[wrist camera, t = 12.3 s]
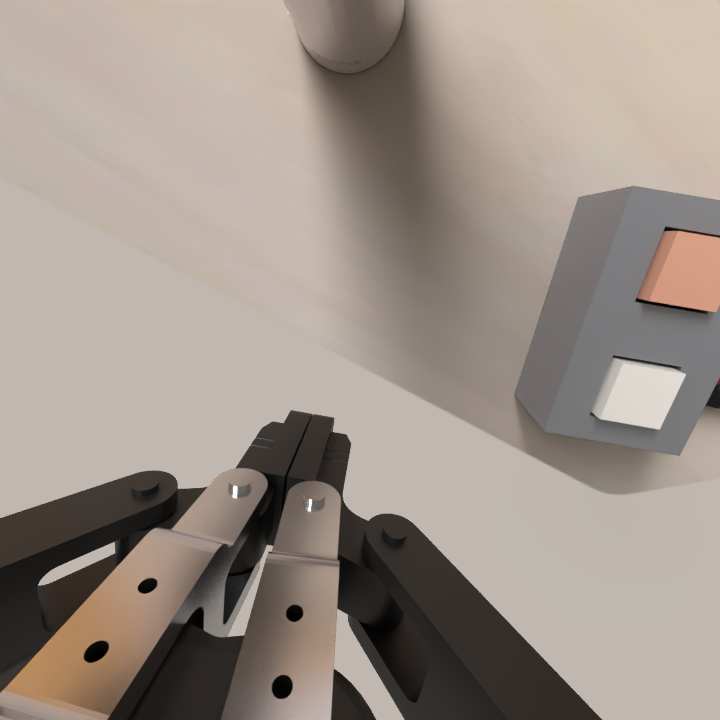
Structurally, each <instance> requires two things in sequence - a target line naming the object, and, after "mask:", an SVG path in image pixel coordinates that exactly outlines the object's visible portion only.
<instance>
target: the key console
mask: <svg viewBox="0 0 720 720" xmlns="http://www.w3.org/2000/svg"><path fill="white" fill-rule="evenodd" d="M663 231H682V232H688V233H693V234H699V235H705V236H711V237H717V238H720V200H715V199H709V198H703V197H697V196H691V195H685V194H679V193H673V192H667V191H661V190H654V189H648V188H642V187H636V186H631V187H626V188H622V189H617V190H612V191H607V192H602V193H597V194H592V195H587V196H583V197H579V198H578V201H577V204H576V207H575V210H574V213H573V216H572V219H571V222H570V225H569V228H568V232H567V235H566V238H565V241H564V244H563V247H562V250H561V253H560V256H559V259H558V262H557V265H556V269H555V272H554V275H553V278H552V281H551V284H550V287H549V290H548V293H547V296H546V299H545V302H544V306H543V309H542V312H541V315H540V318H539V321H538V324H537V327H536V330H535V333H534V336H533V339H532V343H531V346H530V349H529V352H528V355H527V358H526V361H525V364H524V367H523V370H522V373H521V376H520V380H519V383H518V386H517V389H516V392H515V396H516V398H517V399H518V400H519V401H520V403H521V404H522V405H523V406H524V408H525V409H526V410H527V411H528V413H529V414H530V415H531V416H532V418H533V419H534V420H535V421H536V423H537V424H538V425H539V426H540V428H541V429H542V430H543V431H544V432H548V433H553V434H559V435H565V436H570V437H576V438H582V439H587V440H593V441H599V442H604V443H610V444H615V445H621V446H627V447H632V448H638V449H644V450H649V451H655V452H661V453H666V454H672V455H678V456H680V454H681V452H682V450H683V448H684V446H685V444H686V442H687V440H688V438H689V436H690V435H691V433H692V431H693V429H694V427H695V425H696V423H697V421H698V419H699V417H700V415H701V413H702V411H703V409H704V407H705V405H706V403H707V401H708V399H709V397H710V396H711V394H712V392H713V390H714V388H715V386H716V384H717V382H718V380H719V378H720V305H719V308H718V310H717V312H711V311H705V310H699V309H693V308H687V307H681V306H675V305H670V304H664V303H658V302H652V301H647V300H643V299H639V298H637V295H638V293H639V290H640V288H641V286H642V283H643V281H644V278H645V276H646V273H647V271H648V268H649V266H650V263H651V261H652V258H653V256H654V253H655V251H656V248H657V246H658V243H659V241H660V238H661V236H662V233H663ZM613 355H615V356H621V357H627V358H632V359H638V360H644V361H650V362H656V363H661V364H665V365H667V366H669V367H672V368H674V369H676V370H678V371H680V372H682V373H685V374H686V376H685V378H684V380H683V382H682V384H681V386H680V388H679V390H678V393H677V395H676V397H675V399H674V401H673V403H672V405H671V407H670V409H669V411H668V413H667V415H666V418H665V420H664V422H663V424H662V426H661V428H660V430H659V429H653V428H648V427H642V426H636V425H631V424H625V423H619V422H614V421H608V420H602V419H599V418H598V417H597V416H596V415H595V414H593V413H592V412H591V409H592V407H593V404H594V402H595V399H596V397H597V394H598V392H599V390H600V387H601V385H602V382H603V380H604V377H605V375H606V372H607V370H608V367H609V365H610V362H611V360H612V357H613Z"/></svg>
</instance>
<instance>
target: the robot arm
mask: <svg viewBox="0 0 720 720" xmlns="http://www.w3.org/2000/svg"><path fill="white" fill-rule="evenodd" d="M283 1H284V4H285V6H286V8H287V10H288V13H289V15H290V17H291V20H292V22H293V24H294V26H295V28H296V30H297V33H298V35H299V37H300V39H301V42H302V44H303V46H304V47H305V48H306V50H307V51H308V53H309V54H310V56H311V57H313V58H314V59H315V60H316V61H317V62H318V63H319V64H320V65H322V66H324V67H326V68H327V69H329V70H332V71H335V72H339V73H355V72H360V71H363V70H365V69H368V68H370V67H372V66H373V65H375V64H376V63H377V62H378V61H380V60H381V59H382V58H383V57H384V56H385V55H386V53H387V52H388V51H389V50H390V49H391V47H392V45H393V43H394V42H395V40H396V38H397V36H398V33H399V30H400V27H401V24H402V20H403V13H404V5H405V0H283ZM333 425H334V418H332V417H326V416H321V415H315V414H314V415H313V416H312V414H309V413H304V412H298V411H293V410H292V411H290V413H289V415H288V417H287V418H286V420H285V422H284V423H278V422H271V423H270V424H268V425H266V426H264V427H263V428H262V429H261V430H260V432H259V433H258V435H257V437H256V438H255V439H254V441H253V442H252V444H251V446H250V447H249V449H248V450H247V452H246V453H245V455H244V456H243V458H242V459H241V461H240V462H239V464H238V465H237V467H236V468H235V469H231V470H228V471H225V472H223V473H221V474H220V475H218V476H217V477H216V478H215V479H214V480H213V481H212V483H211V484H210V485H209V486H208V487H204V488H191V489H178V488H177V487H178V486H177V485H178V483H177V480H176V478H175V477H174V476H173V475H171V474H169V473H167V472H163V471H145V472H139V473H136V474H133V475H130V476H127V477H124V478H121V479H117V480H114V481H112V482H108V483H105V484H102V485H100V486H97V487H94V488H90V489H87V490H84V491H81V492H78V493H75V494H73V495H69V496H66V497H63V498H60V499H57V500H54V501H51V502H48V503H45V504H42V505H39V506H36V507H33V508H30V509H27V510H24V511H21V512H18V513H15V514H12V515H9V516H6V517H3V518H0V720H376V719H375V717H374V715H373V713H372V711H371V709H370V708H369V706H368V704H367V703H366V701H365V700H364V699H363V697H362V695H361V694H360V693H359V692H358V691H357V689H356V688H355V687H354V686H353V685H352V683H351V682H349V681H348V680H347V679H346V678H345V677H344V676H343V675H342V674H341V673H339V672H338V671H336V670H335V669H334V655H335V636H336V620H337V609H339V610H341V611H343V612H345V613H346V614H348V622H349V625H350V627H351V629H352V631H353V633H354V635H355V636H356V638H357V640H358V641H359V643H360V645H361V647H362V648H363V650H364V652H365V653H366V655H367V656H368V658H369V660H370V662H371V663H372V665H373V667H374V668H375V670H376V672H377V674H378V675H379V677H380V679H381V680H382V682H383V684H384V685H385V687H386V689H387V690H388V692H389V694H390V695H391V697H392V699H393V700H394V702H395V704H396V705H397V707H398V709H399V711H400V712H401V714H402V715H403V717H404V719H405V720H602V719H601V718H600V717H599V716H598V715H597V714H596V713H595V712H594V711H593V710H592V709H591V708H590V707H589V706H588V705H587V704H586V703H585V701H583V699H582V698H581V697H580V696H579V695H578V694H577V693H576V692H575V691H574V690H573V689H572V688H571V687H570V686H569V685H568V684H567V683H566V682H565V681H564V680H563V679H562V678H561V677H560V676H559V674H558V673H557V672H556V671H555V670H554V669H553V668H552V667H551V666H550V665H549V664H548V663H547V662H546V661H545V660H544V659H543V658H542V657H541V656H540V655H539V654H538V653H537V652H536V651H535V649H534V648H533V647H532V646H531V645H530V644H529V643H528V642H527V641H526V640H525V639H524V638H523V637H522V636H521V635H520V634H519V633H518V632H517V631H516V630H515V629H514V628H513V627H512V626H511V624H510V623H509V622H507V620H506V619H505V618H504V617H503V616H502V615H501V614H500V613H499V612H498V611H497V610H496V609H495V608H494V607H493V606H492V605H491V604H490V603H489V602H488V601H487V600H486V599H485V598H484V596H483V595H482V594H481V593H479V591H478V590H477V589H476V588H475V587H474V586H473V585H472V584H471V583H470V582H469V581H468V580H467V579H466V578H465V577H464V576H463V575H462V574H461V572H460V571H458V569H457V568H456V567H455V566H454V565H453V564H452V563H451V562H450V561H449V560H448V559H447V558H446V557H445V556H444V555H443V554H442V553H441V552H440V551H439V550H438V549H437V548H436V546H435V545H433V544H432V542H431V541H430V540H429V539H428V538H427V537H426V536H425V535H424V534H423V533H422V532H421V531H420V530H419V529H418V528H417V527H416V526H415V525H414V524H413V523H412V522H410V521H409V520H408V519H406V518H404V517H401V516H399V515H394V514H380V515H377V516H375V517H373V518H371V519H370V520H369V521H367V520H365V519H363V518H360V517H359V516H357V515H355V514H354V513H353V512H351V511H350V510H349V509H348V508H347V506H346V505H345V503H344V501H343V497H342V495H343V488H344V481H345V476H346V470H347V465H348V458H349V453H350V447H351V443H350V441H349V439H348V437H347V435H346V434H340V433H335V432H333ZM112 542H115V554H113V555H111V556H109V557H107V558H104V559H103V560H100V561H98V562H96V563H93V564H91V565H89V566H87V567H85V568H83V569H80V570H79V571H76V572H74V573H72V574H69V575H67V576H65V577H63V578H61V579H58V580H56V581H54V582H52V583H49V584H46V585H42V586H38V584H39V582H40V580H41V579H42V578H43V576H45V575H46V574H47V573H48V572H49V571H51V570H52V569H54V568H56V567H58V566H60V565H62V564H64V563H67V562H69V561H71V560H73V559H76V558H78V557H80V556H83V555H85V554H87V553H89V552H92V551H94V550H96V549H98V548H101V547H103V546H105V545H108V544H110V543H112ZM266 545H272V546H273V550H272V552H269V553H268V555H267V558H266V562H265V565H264V569H263V572H262V576H261V579H260V583H259V586H258V590H257V593H256V597H255V600H254V604H253V608H252V611H251V614H250V618H249V621H248V625H247V629H246V632H245V636H234V637H227V636H228V634H229V632H230V630H231V628H232V625H233V623H234V621H235V619H236V617H237V615H238V613H239V611H240V609H241V607H242V605H243V602H244V600H245V598H246V596H247V594H248V592H249V590H250V588H251V586H252V584H253V582H254V579H255V577H256V575H257V573H258V571H259V568H260V561H261V557H262V556H263V553H264V551H265V548H266Z"/></svg>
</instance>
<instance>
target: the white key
mask: <svg viewBox="0 0 720 720" xmlns="http://www.w3.org/2000/svg"><path fill="white" fill-rule="evenodd" d="M685 376H686V374H685V373H682V372H680V371H678V370H676V369H674V368H672V367H669V366H667V365H665V364H661V363H656V362H650V361H644V360H638V359H632V358H627V357H621V356H615V355H613V357H612V360H611V362H610V365H609V367H608V370H607V372H606V375H605V377H604V380H603V382H602V385H601V387H600V390H599V392H598V394H597V397H596V399H595V402H594V404H593V407H592V409H591V412H592V413H593V414H595V415H596V416H597V417H598V418H599V419H602V420H608V421H614V422H619V423H625V424H631V425H636V426H642V427H648V428H653V429H659V430H660V428H661V426H662V424H663V422H664V420H665V418H666V415H667V413H668V411H669V409H670V407H671V405H672V403H673V401H674V399H675V397H676V395H677V393H678V390H679V388H680V386H681V384H682V382H683V380H684V378H685Z"/></svg>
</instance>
